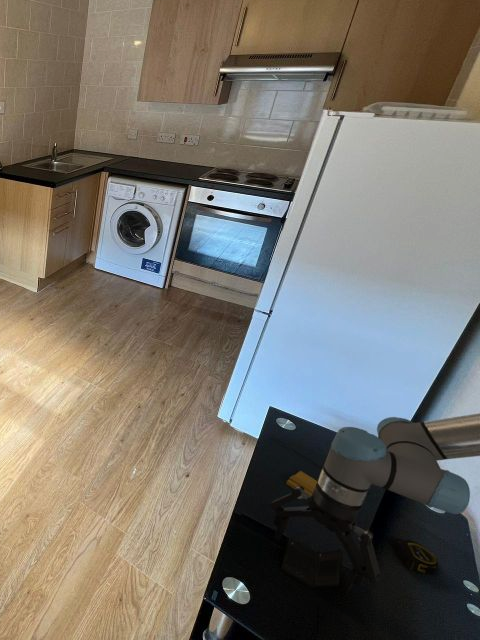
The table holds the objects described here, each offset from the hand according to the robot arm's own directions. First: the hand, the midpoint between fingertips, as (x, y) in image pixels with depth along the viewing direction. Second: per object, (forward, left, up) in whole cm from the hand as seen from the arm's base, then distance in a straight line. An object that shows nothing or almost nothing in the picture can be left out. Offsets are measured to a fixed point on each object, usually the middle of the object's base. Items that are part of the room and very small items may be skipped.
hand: (309, 562), depth 95 cm
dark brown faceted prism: (0, 0, -2) cm, 2 cm away
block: (+10, -27, -2) cm, 29 cm away
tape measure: (-11, -24, -2) cm, 27 cm away
